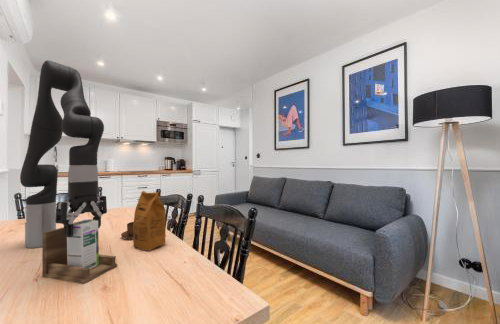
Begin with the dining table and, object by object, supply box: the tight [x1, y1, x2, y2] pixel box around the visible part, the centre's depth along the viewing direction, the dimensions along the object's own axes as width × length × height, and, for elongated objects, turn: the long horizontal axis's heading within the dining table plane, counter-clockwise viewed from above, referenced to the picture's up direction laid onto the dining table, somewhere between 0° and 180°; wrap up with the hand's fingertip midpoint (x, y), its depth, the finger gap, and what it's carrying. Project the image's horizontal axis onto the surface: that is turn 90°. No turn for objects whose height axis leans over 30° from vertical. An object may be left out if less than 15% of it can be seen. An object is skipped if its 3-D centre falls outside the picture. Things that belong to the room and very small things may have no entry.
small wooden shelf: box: [41, 226, 118, 285], centre depth 70 cm, size 16×11×13 cm
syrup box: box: [67, 219, 100, 269], centre depth 70 cm, size 6×6×14 cm
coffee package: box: [132, 190, 167, 251], centre depth 92 cm, size 10×12×22 cm
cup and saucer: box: [120, 221, 134, 240], centre depth 104 cm, size 12×12×6 cm
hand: (83, 232), depth 70 cm, fingers open, 8 cm apart
